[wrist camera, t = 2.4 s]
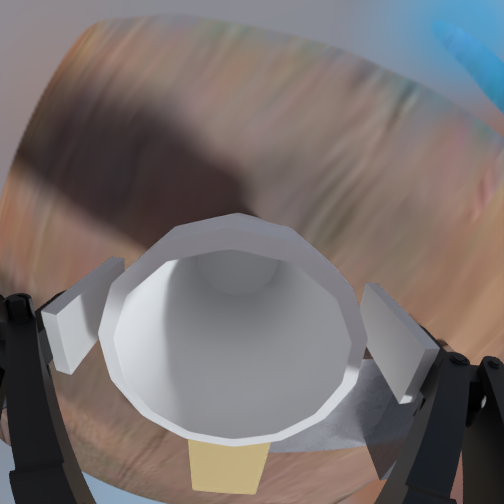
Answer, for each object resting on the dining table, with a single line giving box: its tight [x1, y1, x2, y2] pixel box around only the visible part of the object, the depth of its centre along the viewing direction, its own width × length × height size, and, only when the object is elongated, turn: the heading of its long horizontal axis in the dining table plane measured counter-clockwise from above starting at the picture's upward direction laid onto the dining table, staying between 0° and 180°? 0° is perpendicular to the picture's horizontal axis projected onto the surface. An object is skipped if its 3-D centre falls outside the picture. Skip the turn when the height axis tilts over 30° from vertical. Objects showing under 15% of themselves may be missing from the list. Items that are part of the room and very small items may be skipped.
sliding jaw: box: [188, 439, 271, 494], centre depth 21 cm, size 6×13×6 cm, turn 174°
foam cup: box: [98, 213, 368, 447], centre depth 15 cm, size 10×9×13 cm
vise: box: [268, 345, 455, 480], centre depth 23 cm, size 26×14×8 cm, turn 84°
